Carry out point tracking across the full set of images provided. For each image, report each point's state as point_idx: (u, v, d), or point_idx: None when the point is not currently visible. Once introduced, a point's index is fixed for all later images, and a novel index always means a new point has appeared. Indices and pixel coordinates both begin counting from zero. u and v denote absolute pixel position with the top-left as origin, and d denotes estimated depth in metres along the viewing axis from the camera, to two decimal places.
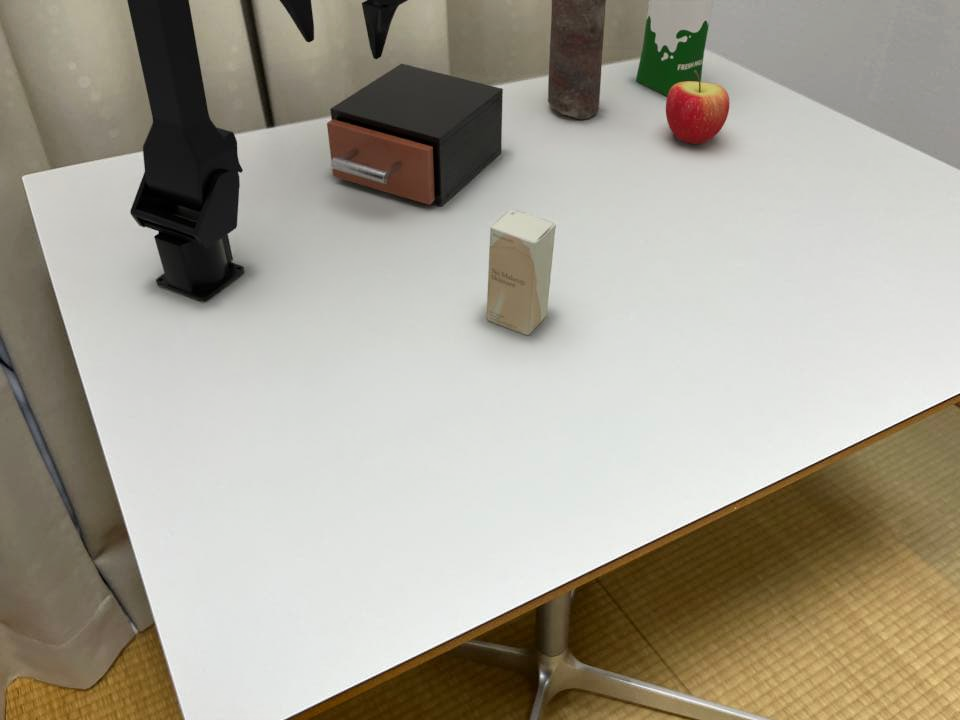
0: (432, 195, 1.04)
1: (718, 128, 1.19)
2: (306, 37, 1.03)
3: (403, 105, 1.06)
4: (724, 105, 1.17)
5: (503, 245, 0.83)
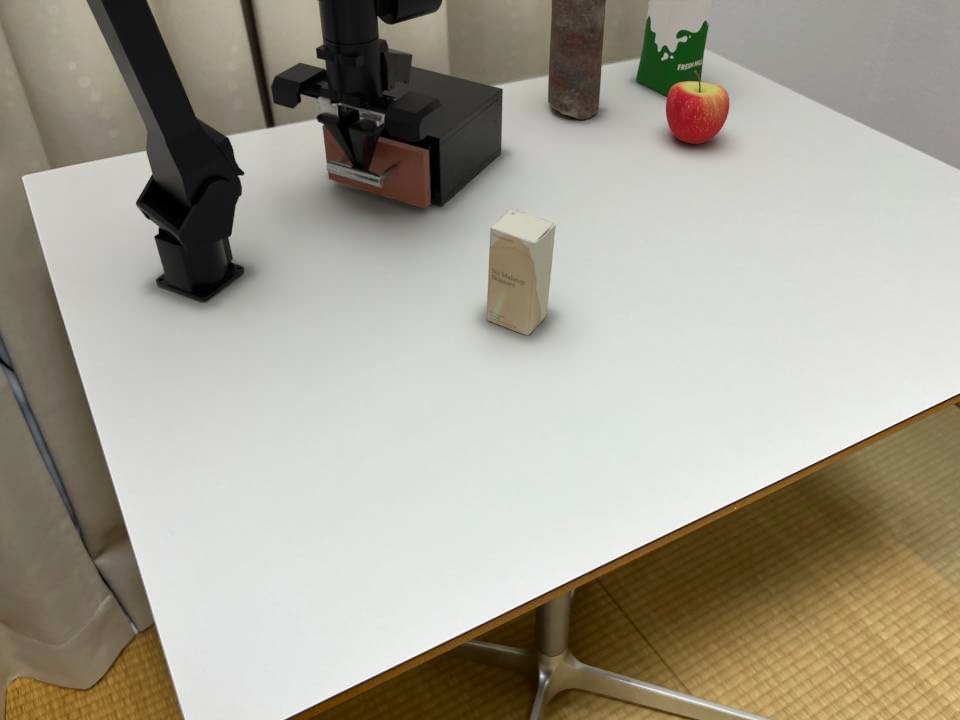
0: (428, 198, 1.04)
1: (718, 128, 1.19)
2: None
3: None
4: (724, 105, 1.17)
5: (503, 245, 0.83)
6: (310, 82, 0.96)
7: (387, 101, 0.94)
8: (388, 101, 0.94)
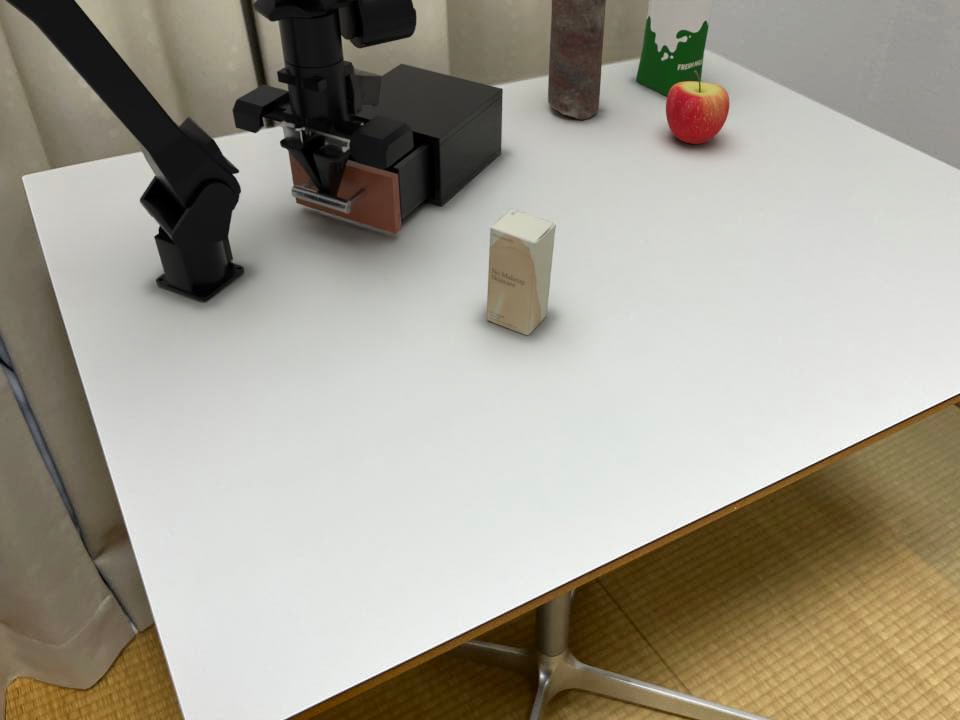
0: (398, 224, 0.99)
1: (718, 128, 1.19)
2: None
3: (403, 105, 1.06)
4: (724, 105, 1.17)
5: (503, 245, 0.83)
6: (274, 106, 0.92)
7: (353, 126, 0.90)
8: (354, 126, 0.90)
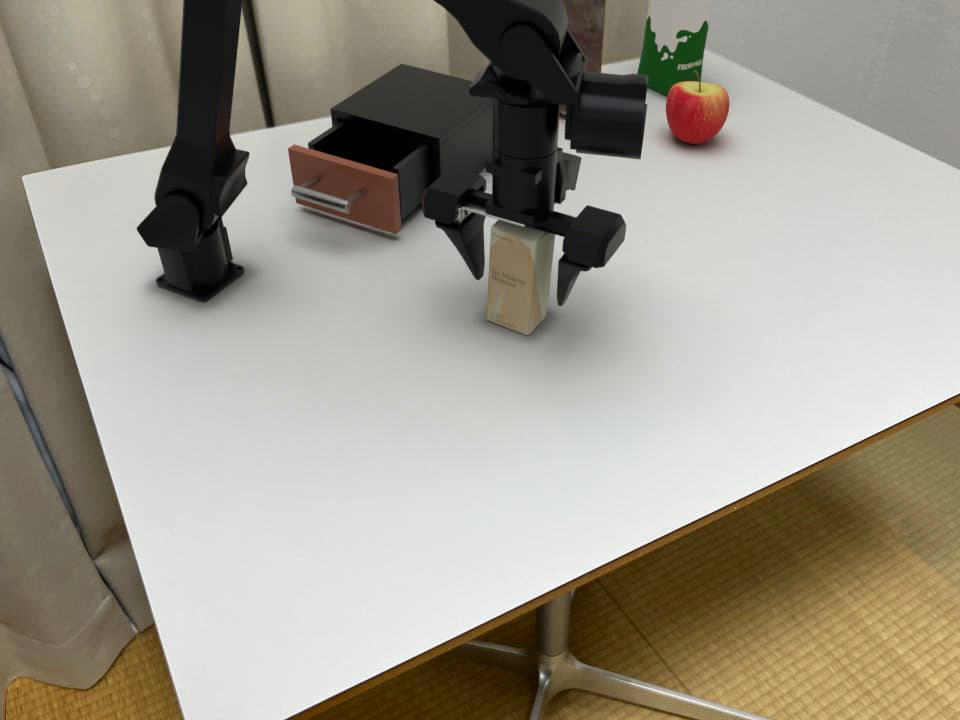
0: (398, 224, 0.99)
1: (718, 128, 1.19)
2: (477, 276, 0.89)
3: (403, 105, 1.06)
4: (724, 105, 1.17)
5: (503, 245, 0.83)
6: (468, 194, 0.83)
7: (562, 218, 0.81)
8: (563, 218, 0.81)
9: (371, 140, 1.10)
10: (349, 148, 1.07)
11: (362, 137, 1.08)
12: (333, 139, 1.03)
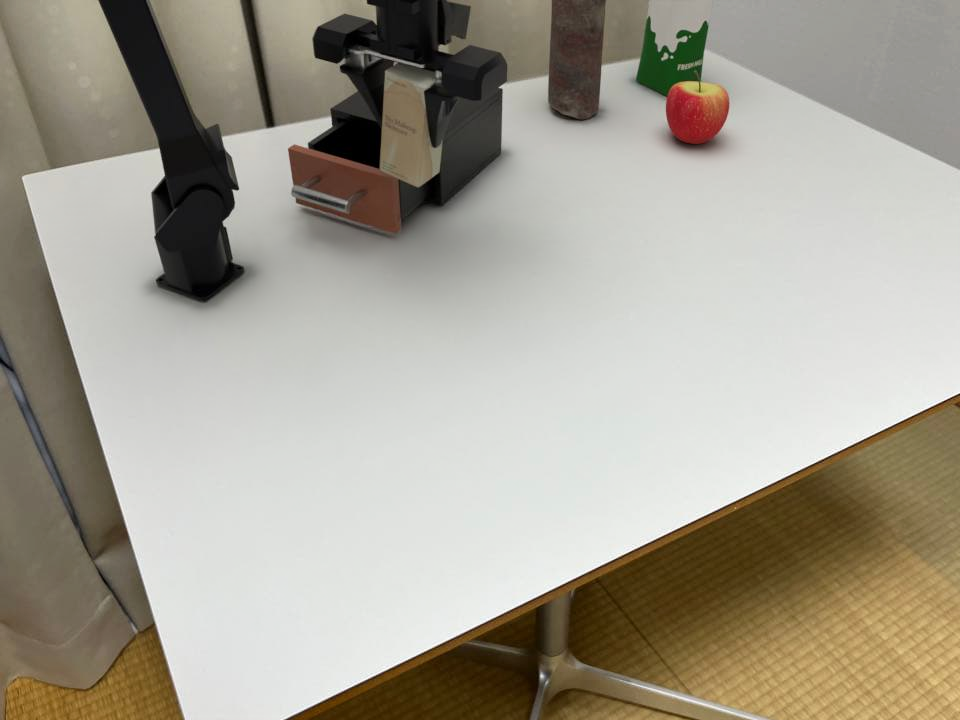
0: (398, 224, 0.99)
1: (718, 128, 1.19)
2: None
3: None
4: (724, 105, 1.17)
5: (396, 90, 0.86)
6: (357, 35, 0.86)
7: (444, 55, 0.83)
8: (445, 55, 0.83)
9: (371, 140, 1.10)
10: (349, 148, 1.07)
11: (362, 137, 1.08)
12: (333, 139, 1.03)
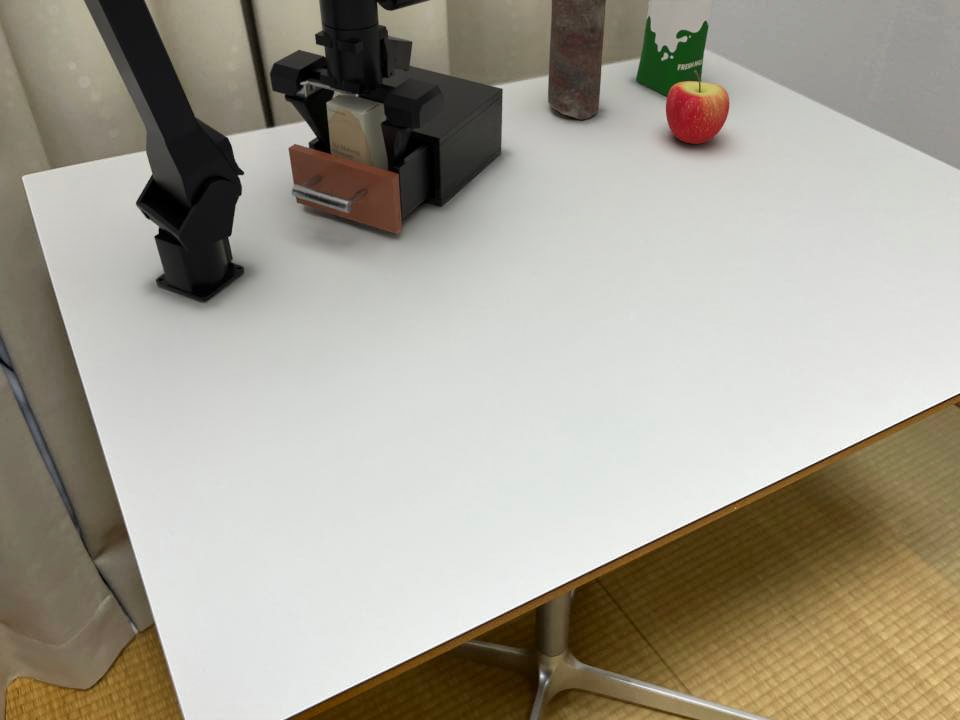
0: (399, 224, 0.99)
1: (718, 128, 1.19)
2: (327, 149, 1.01)
3: None
4: (724, 105, 1.17)
5: (338, 119, 0.96)
6: (310, 69, 0.96)
7: (387, 88, 0.93)
8: (388, 88, 0.93)
9: None
10: None
11: None
12: None
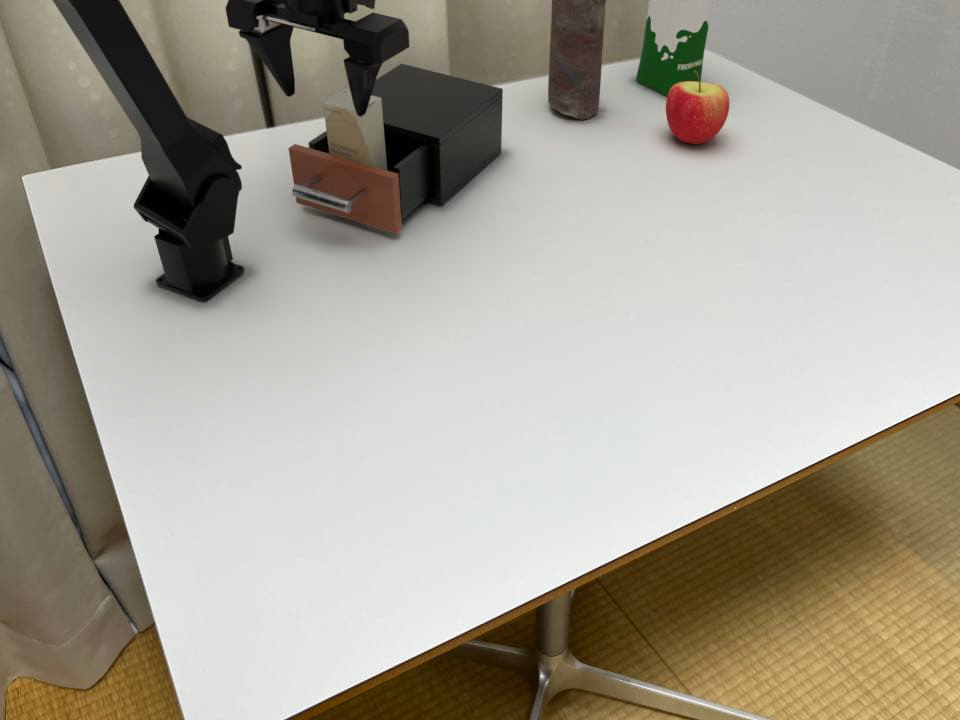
0: (399, 224, 0.99)
1: (718, 128, 1.19)
2: (286, 91, 0.96)
3: (403, 105, 1.06)
4: (724, 105, 1.17)
5: (335, 118, 0.96)
6: (268, 4, 0.90)
7: (348, 22, 0.88)
8: (349, 22, 0.88)
9: None
10: None
11: None
12: None
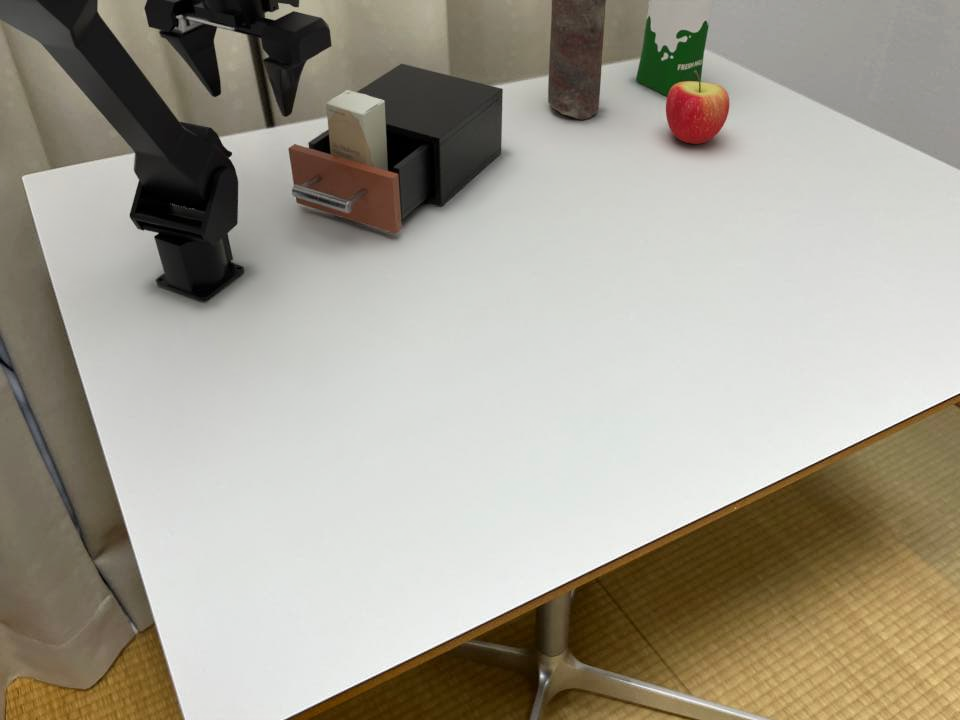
0: (399, 224, 0.99)
1: (718, 128, 1.19)
2: (211, 92, 0.95)
3: (403, 105, 1.06)
4: (724, 105, 1.17)
5: (337, 119, 0.96)
6: (188, 4, 0.89)
7: (267, 21, 0.86)
8: (268, 21, 0.87)
9: None
10: None
11: None
12: None
